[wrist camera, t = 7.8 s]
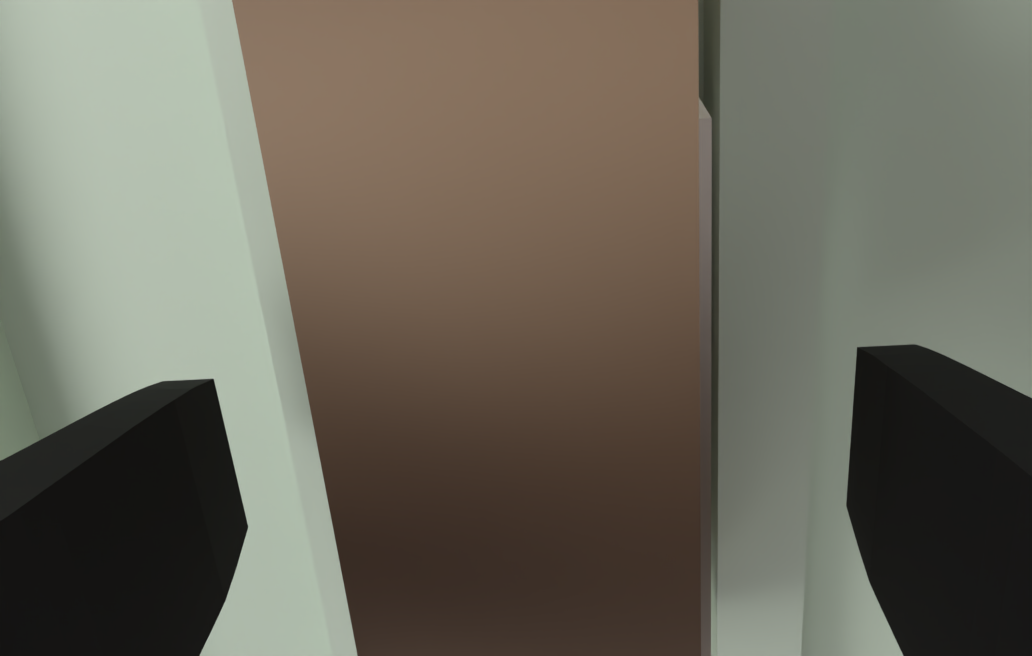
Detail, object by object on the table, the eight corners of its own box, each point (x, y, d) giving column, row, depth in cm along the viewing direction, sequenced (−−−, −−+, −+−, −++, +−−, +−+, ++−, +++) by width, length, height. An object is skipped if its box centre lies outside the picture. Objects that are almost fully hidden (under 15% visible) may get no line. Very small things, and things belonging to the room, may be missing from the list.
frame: (668, 545, 15) (721, 915, 10) (454, 553, 15) (388, 914, 10) (656, -73, 11) (730, -46, 6) (375, -49, 12) (201, -1, 6)
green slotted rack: (1076, 769, 18) (1150, 897, 16) (124, 781, 19) (65, 899, 17) (1383, -659, 10) (1630, -828, 7) (-294, -444, 11) (-514, -530, 9)
